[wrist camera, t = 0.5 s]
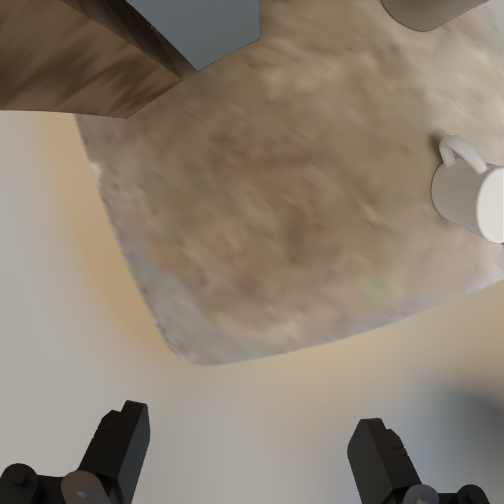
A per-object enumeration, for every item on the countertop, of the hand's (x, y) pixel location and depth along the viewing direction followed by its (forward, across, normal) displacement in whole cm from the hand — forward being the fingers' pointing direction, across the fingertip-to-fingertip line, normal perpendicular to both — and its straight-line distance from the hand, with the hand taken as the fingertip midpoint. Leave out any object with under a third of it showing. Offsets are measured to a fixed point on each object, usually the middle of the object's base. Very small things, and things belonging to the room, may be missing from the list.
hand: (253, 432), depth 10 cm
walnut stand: (+27, +18, -23) cm, 40 cm away
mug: (+27, -24, -12) cm, 38 cm away
